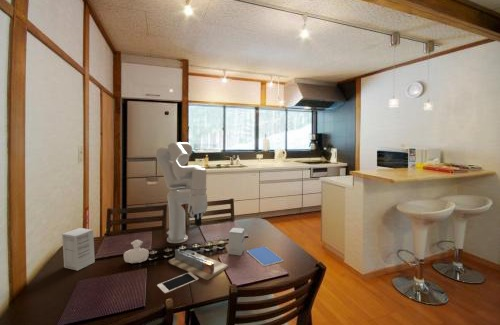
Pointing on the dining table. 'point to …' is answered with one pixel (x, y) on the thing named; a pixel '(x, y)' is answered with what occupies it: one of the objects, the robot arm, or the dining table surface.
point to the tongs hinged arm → (200, 259)
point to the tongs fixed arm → (193, 262)
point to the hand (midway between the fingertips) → (198, 225)
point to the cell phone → (177, 282)
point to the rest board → (217, 269)
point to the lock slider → (190, 252)
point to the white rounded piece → (136, 253)
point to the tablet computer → (264, 256)
